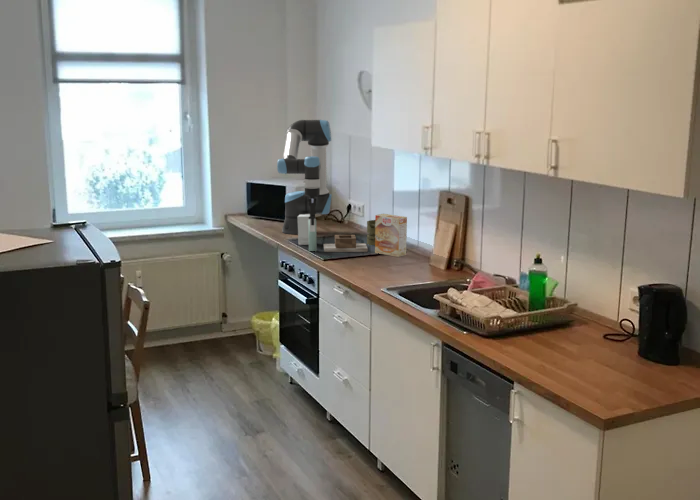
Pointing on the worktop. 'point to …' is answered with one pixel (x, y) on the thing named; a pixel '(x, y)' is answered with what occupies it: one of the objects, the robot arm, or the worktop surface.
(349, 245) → the socket board
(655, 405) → the worktop surface
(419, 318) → the worktop surface
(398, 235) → the coffeecake box
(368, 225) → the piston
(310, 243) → the peg
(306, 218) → the skincare box
